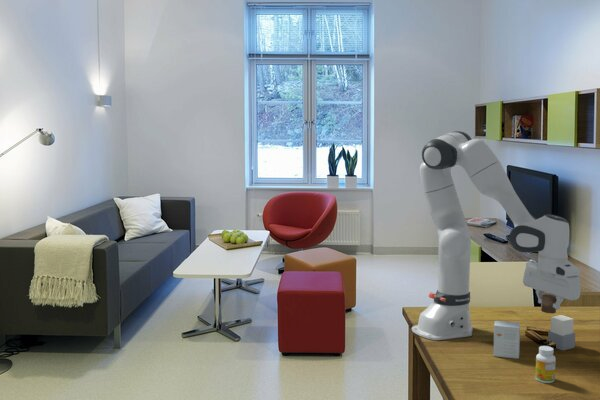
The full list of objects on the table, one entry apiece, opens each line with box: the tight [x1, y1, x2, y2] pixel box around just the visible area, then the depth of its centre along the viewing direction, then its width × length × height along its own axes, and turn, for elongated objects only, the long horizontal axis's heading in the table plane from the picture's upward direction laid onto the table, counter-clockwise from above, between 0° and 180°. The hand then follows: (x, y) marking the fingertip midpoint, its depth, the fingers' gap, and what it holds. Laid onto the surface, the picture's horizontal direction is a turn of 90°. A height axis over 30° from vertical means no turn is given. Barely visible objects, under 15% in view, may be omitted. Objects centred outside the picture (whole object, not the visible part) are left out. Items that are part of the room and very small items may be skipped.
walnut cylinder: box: [540, 293, 558, 314], centre depth 208 cm, size 4×4×5 cm
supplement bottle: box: [534, 345, 557, 384], centre depth 187 cm, size 5×5×10 cm
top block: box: [549, 314, 575, 336], centre depth 214 cm, size 5×5×5 cm
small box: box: [493, 320, 521, 360], centre depth 207 cm, size 8×6×10 cm
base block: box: [547, 330, 576, 352], centre depth 214 cm, size 6×6×5 cm
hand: (548, 306), depth 208 cm, fingers closed on walnut cylinder, 4 cm apart
